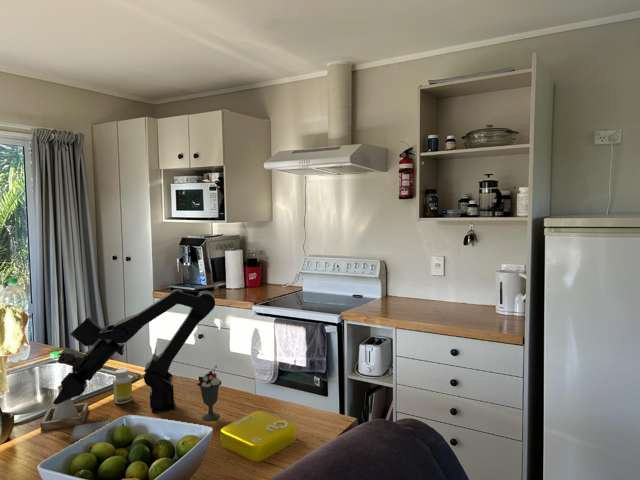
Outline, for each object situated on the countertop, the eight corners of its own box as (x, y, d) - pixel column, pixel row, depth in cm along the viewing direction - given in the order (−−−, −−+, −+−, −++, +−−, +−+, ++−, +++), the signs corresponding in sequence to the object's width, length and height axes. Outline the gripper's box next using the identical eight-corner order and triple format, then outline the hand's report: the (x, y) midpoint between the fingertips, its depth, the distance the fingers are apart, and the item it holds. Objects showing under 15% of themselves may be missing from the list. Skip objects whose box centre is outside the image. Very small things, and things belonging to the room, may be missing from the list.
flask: (73, 411, 143) (71, 379, 143) (84, 418, 139) (82, 385, 138) (47, 420, 138) (45, 387, 137) (57, 427, 133) (55, 393, 132)
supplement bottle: (136, 399, 152) (134, 369, 151) (121, 405, 147) (119, 374, 146) (125, 395, 154) (123, 366, 154) (110, 402, 150) (108, 371, 149)
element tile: (259, 423, 134) (259, 407, 134) (299, 439, 125) (299, 422, 124) (217, 445, 122) (216, 427, 122) (257, 465, 113) (256, 445, 113)
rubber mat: (110, 421, 136) (110, 420, 136) (107, 436, 128) (107, 434, 128) (75, 427, 133) (75, 425, 133) (69, 442, 125) (69, 440, 125)
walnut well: (88, 408, 145) (88, 402, 145) (83, 424, 135) (82, 417, 135) (49, 414, 142) (48, 408, 142) (40, 430, 132) (40, 423, 131)
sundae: (227, 416, 138) (225, 366, 137) (207, 424, 133) (205, 372, 132) (214, 409, 143) (212, 361, 141) (194, 417, 138) (192, 367, 136)
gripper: (83, 330, 146) (45, 369, 145) (67, 348, 128) (24, 392, 127) (112, 353, 149) (75, 391, 147) (100, 373, 131) (59, 417, 129)
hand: (59, 397), depth 137 cm, fingers open, 9 cm apart
